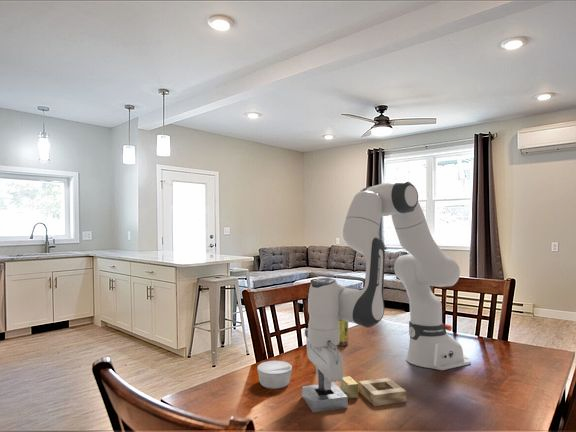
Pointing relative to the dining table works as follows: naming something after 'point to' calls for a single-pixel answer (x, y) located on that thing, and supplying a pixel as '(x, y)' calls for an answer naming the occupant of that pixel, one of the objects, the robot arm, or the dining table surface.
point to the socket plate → (324, 398)
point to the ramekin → (274, 374)
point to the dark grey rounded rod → (321, 384)
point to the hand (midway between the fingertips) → (324, 385)
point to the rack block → (382, 391)
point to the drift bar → (349, 387)
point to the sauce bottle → (343, 333)
